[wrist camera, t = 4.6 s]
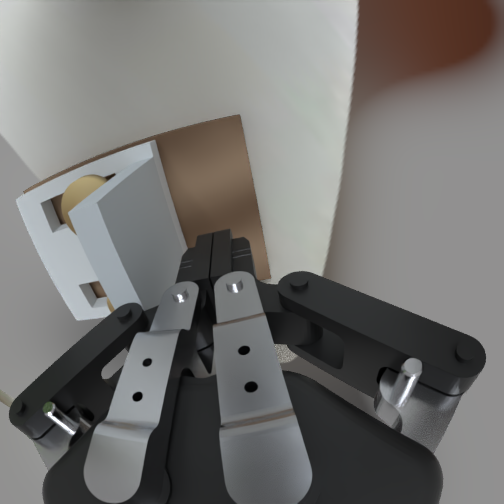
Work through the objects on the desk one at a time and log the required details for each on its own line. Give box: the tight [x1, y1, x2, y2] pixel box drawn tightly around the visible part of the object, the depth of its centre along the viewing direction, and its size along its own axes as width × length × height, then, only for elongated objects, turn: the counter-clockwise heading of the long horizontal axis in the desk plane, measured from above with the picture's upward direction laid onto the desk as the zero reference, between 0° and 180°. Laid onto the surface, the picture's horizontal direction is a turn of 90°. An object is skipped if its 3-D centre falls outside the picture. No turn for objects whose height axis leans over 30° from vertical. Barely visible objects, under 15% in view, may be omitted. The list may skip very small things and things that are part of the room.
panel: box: [16, 140, 188, 321], centre depth 13 cm, size 11×11×8 cm
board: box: [24, 115, 271, 313], centre depth 16 cm, size 11×16×5 cm
